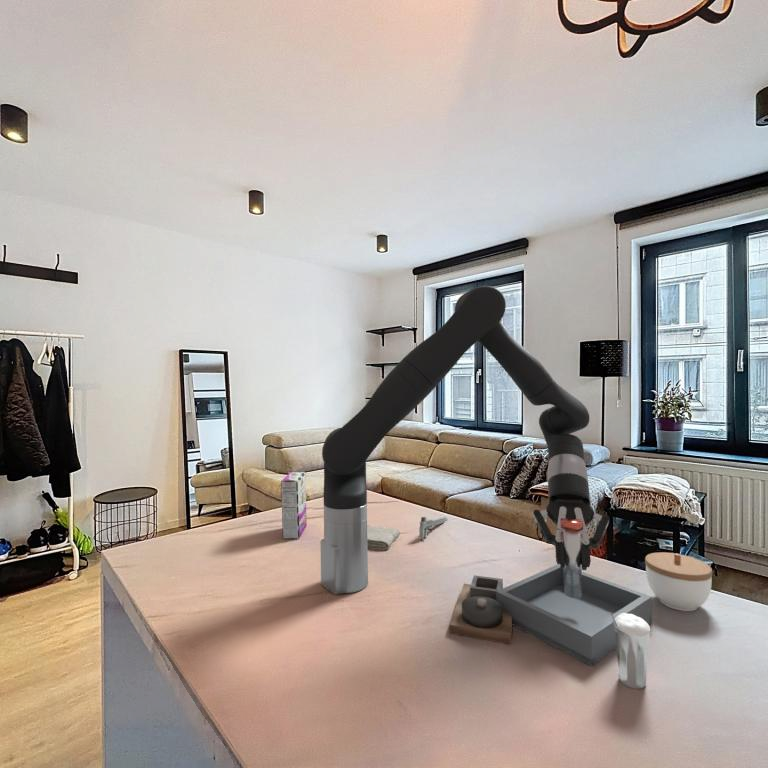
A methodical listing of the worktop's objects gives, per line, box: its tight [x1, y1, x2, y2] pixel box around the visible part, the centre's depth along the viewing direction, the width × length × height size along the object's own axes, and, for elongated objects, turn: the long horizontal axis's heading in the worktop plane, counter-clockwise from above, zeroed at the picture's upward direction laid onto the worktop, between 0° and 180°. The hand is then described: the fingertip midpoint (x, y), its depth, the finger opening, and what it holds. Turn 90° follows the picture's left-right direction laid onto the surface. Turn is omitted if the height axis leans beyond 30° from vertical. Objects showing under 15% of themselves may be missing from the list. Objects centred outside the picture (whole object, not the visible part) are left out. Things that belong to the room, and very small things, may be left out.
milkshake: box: [610, 612, 651, 690], centre depth 63 cm, size 4×5×10 cm
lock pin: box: [560, 518, 584, 598], centre depth 80 cm, size 4×4×13 cm
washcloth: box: [367, 524, 401, 551], centre depth 122 cm, size 12×18×3 cm, turn 72°
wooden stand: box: [449, 574, 513, 644], centre depth 82 cm, size 16×10×4 cm, turn 161°
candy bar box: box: [280, 471, 307, 540], centre depth 128 cm, size 11×5×16 cm, turn 179°
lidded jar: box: [644, 551, 713, 612], centre depth 85 cm, size 11×11×9 cm
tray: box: [496, 563, 653, 667], centre depth 80 cm, size 20×18×4 cm
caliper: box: [419, 516, 448, 541], centre depth 129 cm, size 20×1×6 cm, turn 153°
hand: (573, 566), depth 78 cm, fingers closed on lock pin, 3 cm apart
